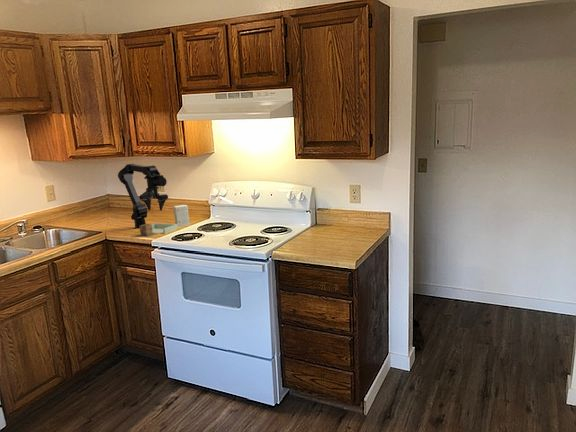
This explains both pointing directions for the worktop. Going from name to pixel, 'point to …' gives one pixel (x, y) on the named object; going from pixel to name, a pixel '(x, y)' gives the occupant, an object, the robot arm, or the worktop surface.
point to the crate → (163, 227)
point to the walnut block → (146, 229)
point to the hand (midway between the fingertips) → (155, 210)
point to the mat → (147, 236)
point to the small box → (181, 215)
